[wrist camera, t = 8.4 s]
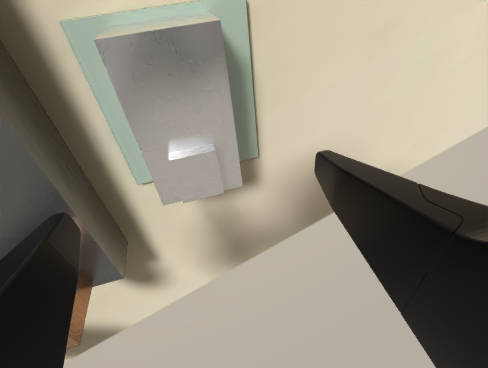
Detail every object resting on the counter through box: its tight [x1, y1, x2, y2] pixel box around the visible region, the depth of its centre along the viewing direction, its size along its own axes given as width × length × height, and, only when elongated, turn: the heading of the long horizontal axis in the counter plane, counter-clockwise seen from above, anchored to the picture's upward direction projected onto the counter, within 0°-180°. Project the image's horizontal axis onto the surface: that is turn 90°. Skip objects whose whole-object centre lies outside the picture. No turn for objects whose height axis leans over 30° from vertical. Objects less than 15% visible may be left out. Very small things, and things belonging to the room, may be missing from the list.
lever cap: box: [94, 11, 243, 206], centre depth 14 cm, size 9×5×4 cm, turn 6°
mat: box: [59, 0, 258, 185], centre depth 16 cm, size 10×9×1 cm
